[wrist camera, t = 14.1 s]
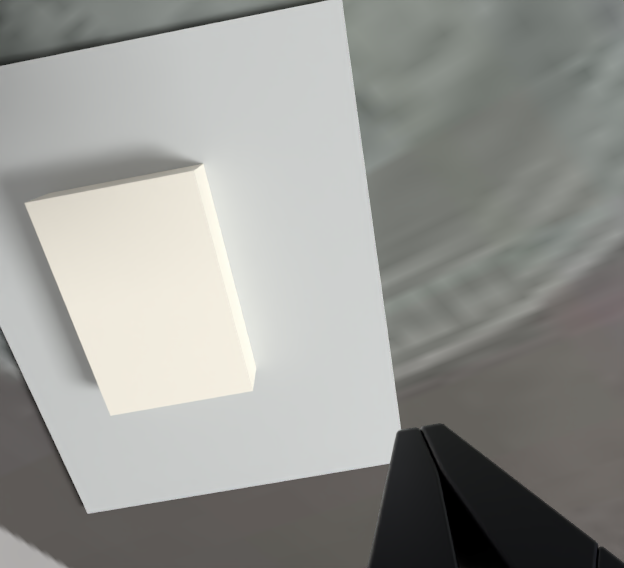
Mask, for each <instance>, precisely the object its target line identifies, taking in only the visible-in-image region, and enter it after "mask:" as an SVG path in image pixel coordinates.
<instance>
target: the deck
mask: <svg viewBox="0 0 624 568" xmlns="http://www.w3.org/2000/svg"><path fill="white" fill-rule="evenodd" d="M25 206H26V208H27V211H28V213H29V216H30V218H31V221H32V223H33V226H34V228H35V231H36V233H37V236H38V238H39V240H40V243H41V245H42V248H43V250H44V253H45V255H46V258H47V260H48V263H49V265H50V268H51V270H52V273H53V275H54V277H55V280H56V282H57V285H58V287H59V290H60V292H61V295H62V297H63V300H64V302H65V305H66V307H67V310H68V312H69V315H70V317H71V319H72V322H73V324H74V327H75V329H76V332H77V334H78V337H79V339H80V342H81V344H82V347H83V349H84V352H85V354H86V357H87V359H88V361H89V364H90V366H91V369H92V371H93V374H94V376H95V379H96V381H97V384H98V386H99V389H100V391H101V394H102V396H103V399H104V401H105V403H106V406H107V408H108V411H109V413H110V416H112V415H118V414H124V413H130V412H135V411H141V410H147V409H153V408H158V407H164V406H170V405H176V404H181V403H187V402H193V401H199V400H204V399H210V398H216V397H221V396H227V395H233V394H239V393H244V392H250V391H253V387H254V380H255V373H256V365H255V361H254V357H253V353H252V349H251V346H250V342H249V338H248V334H247V330H246V326H245V322H244V319H243V315H242V311H241V307H240V303H239V299H238V295H237V292H236V288H235V284H234V280H233V276H232V272H231V268H230V265H229V261H228V257H227V253H226V249H225V245H224V241H223V237H222V234H221V230H220V226H219V222H218V218H217V214H216V210H215V207H214V203H213V199H212V195H211V191H210V187H209V183H208V180H207V176H206V172H205V168H204V164H198V165H193V166H188V167H183V168H177V169H172V170H167V171H162V172H157V173H151V174H146V175H141V176H136V177H130V178H125V179H120V180H115V181H110V182H104V183H99V184H94V185H89V186H83V187H78V188H73V189H68V190H63V191H57V192H52V193H48V194H46V195H43V196H41V197H38V198H36V199H33V200H31V201H28V202H26V203H25Z"/></svg>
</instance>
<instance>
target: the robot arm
mask: <svg viewBox="0 0 624 568" xmlns="http://www.w3.org/2000/svg"><path fill="white" fill-rule="evenodd" d="M367 568H624V563H623V562H622V561H621V560H620V559H618V558H617V557H616V556H614V555H613V554H612V553H610V552H609V551H608V550H607V549H605V548H604V547H599V545H598V543H597V542H596V541H595V540H593V539H592V538H591V537H589V536H588V535H587V534H585V533H584V532H583V531H582V530H580V529H579V528H578V527H576V526H575V525H574V524H572V523H571V522H570V521H569V520H567V519H566V518H565V517H563V516H562V515H561V514H559V513H558V512H557V511H556V510H554V509H553V508H552V507H550V506H549V505H548V504H546V503H545V502H544V501H543V500H541V499H540V498H539V497H537V496H536V495H535V494H534V493H532V492H531V491H530V490H528V489H527V488H526V487H524V486H523V485H522V484H521V483H519V482H518V481H517V480H515V479H514V478H513V477H511V476H510V475H509V474H508V473H506V472H505V471H504V470H502V469H501V468H500V467H498V466H497V465H496V464H495V463H493V462H492V461H491V460H489V459H488V458H487V457H485V456H484V455H483V454H482V453H480V452H479V451H478V450H476V449H475V448H474V447H472V446H471V445H470V444H469V443H467V442H466V441H465V440H463V439H462V438H461V437H459V436H458V435H457V434H456V433H454V432H453V431H452V430H450V429H449V428H448V427H447V426H445V425H444V424H440V423H439V424H433V425H427V426H422V427H421V429H419V428H416V427H415V428H409V429H403V430H399V431H397V433H396V437H395V441H394V446H393V451H392V455H391V460H390V465H389V469H388V474H387V478H386V483H385V488H384V492H383V497H382V502H381V506H380V511H379V516H378V520H377V525H376V529H375V534H374V539H373V543H372V548H371V553H370V557H369V562H368V567H367Z"/></svg>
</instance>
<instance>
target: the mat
mask: <svg viewBox="0 0 624 568" xmlns="http://www.w3.org/2000/svg"><path fill="white" fill-rule="evenodd" d="M198 164H204V168H205V172H206V176H207V180H208V183H209V187H210V191H211V195H212V199H213V203H214V207H215V210H216V214H217V218H218V222H219V226H220V230H221V234H222V237H223V241H224V245H225V249H226V253H227V257H228V261H229V265H230V268H231V272H232V276H233V280H234V284H235V288H236V292H237V295H238V299H239V303H240V307H241V311H242V315H243V319H244V322H245V326H246V330H247V334H248V338H249V342H250V346H251V349H252V353H253V357H254V361H255V365H256V373H255V380H254V387H253V391H250V392H244V393H239V394H233V395H227V396H221V397H216V398H210V399H204V400H199V401H193V402H187V403H181V404H176V405H170V406H164V407H158V408H153V409H147V410H141V411H135V412H130V413H124V414H118V415H112V416H110V413H109V411H108V408H107V406H106V403H105V401H104V399H103V396H102V394H101V391H100V389H99V386H98V384H97V381H96V379H95V376H94V374H93V371H92V369H91V366H90V364H89V361H88V359H87V357H86V354H85V352H84V349H83V347H82V344H81V342H80V339H79V337H78V334H77V332H76V329H75V327H74V324H73V322H72V319H71V317H70V315H69V312H68V310H67V307H66V305H65V302H64V300H63V297H62V295H61V292H60V290H59V287H58V285H57V282H56V280H55V277H54V275H53V273H52V270H51V268H50V265H49V263H48V260H47V258H46V255H45V253H44V250H43V248H42V245H41V243H40V240H39V238H38V236H37V233H36V231H35V228H34V226H33V223H32V221H31V218H30V216H29V213H28V211H27V208H26V206H25V203H26V202H28V201H31V200H33V199H36V198H38V197H41V196H43V195H46V194H48V193H52V192H57V191H63V190H68V189H73V188H78V187H83V186H89V185H94V184H99V183H104V182H110V181H115V180H120V179H125V178H130V177H136V176H141V175H146V174H151V173H157V172H162V171H167V170H172V169H177V168H183V167H188V166H193V165H198ZM0 327H1V329H2V331H3V333H4V335H5V337H6V340H7V342H8V344H9V346H10V348H11V350H12V352H13V355H14V357H15V359H16V361H17V363H18V365H19V367H20V370H21V372H22V374H23V376H24V378H25V380H26V382H27V385H28V387H29V389H30V391H31V393H32V395H33V397H34V400H35V402H36V404H37V406H38V408H39V410H40V412H41V415H42V417H43V419H44V421H45V423H46V425H47V427H48V430H49V432H50V434H51V436H52V438H53V440H54V442H55V445H56V447H57V449H58V451H59V453H60V455H61V457H62V460H63V462H64V464H65V466H66V468H67V470H68V472H69V475H70V477H71V479H72V481H73V483H74V485H75V487H76V490H77V492H78V494H79V496H80V498H81V500H82V502H83V505H84V507H85V509H86V511H87V513H88V514H89V513H95V512H101V511H107V510H113V509H119V508H125V507H131V506H137V505H143V504H149V503H155V502H161V501H167V500H173V499H179V498H185V497H191V496H197V495H203V494H209V493H215V492H221V491H227V490H233V489H239V488H245V487H251V486H257V485H263V484H269V483H275V482H281V481H287V480H293V479H299V478H305V477H311V476H317V475H323V474H329V473H335V472H341V471H347V470H353V469H359V468H365V467H371V466H377V465H383V464H389V463H390V460H391V455H392V451H393V446H394V441H395V437H396V433H397V431H399V430H401V426H400V419H399V411H398V404H397V397H396V390H395V382H394V375H393V368H392V361H391V353H390V346H389V339H388V331H387V324H386V317H385V310H384V302H383V295H382V288H381V281H380V273H379V266H378V259H377V252H376V244H375V237H374V230H373V222H372V215H371V208H370V201H369V193H368V186H367V179H366V172H365V164H364V157H363V150H362V142H361V135H360V128H359V121H358V113H357V106H356V99H355V92H354V84H353V77H352V70H351V63H350V55H349V48H348V41H347V33H346V26H345V19H344V12H343V4H342V0H327V1H322V2H317V3H312V4H307V5H302V6H297V7H292V8H287V9H282V10H277V11H272V12H267V13H262V14H257V15H252V16H247V17H242V18H237V19H232V20H227V21H222V22H217V23H212V24H207V25H202V26H197V27H192V28H188V29H183V30H178V31H173V32H168V33H163V34H158V35H153V36H148V37H143V38H138V39H133V40H128V41H123V42H118V43H113V44H108V45H103V46H98V47H93V48H88V49H83V50H78V51H73V52H68V53H63V54H58V55H53V56H48V57H43V58H38V59H33V60H28V61H23V62H18V63H13V64H8V65H3V66H0Z"/></svg>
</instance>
